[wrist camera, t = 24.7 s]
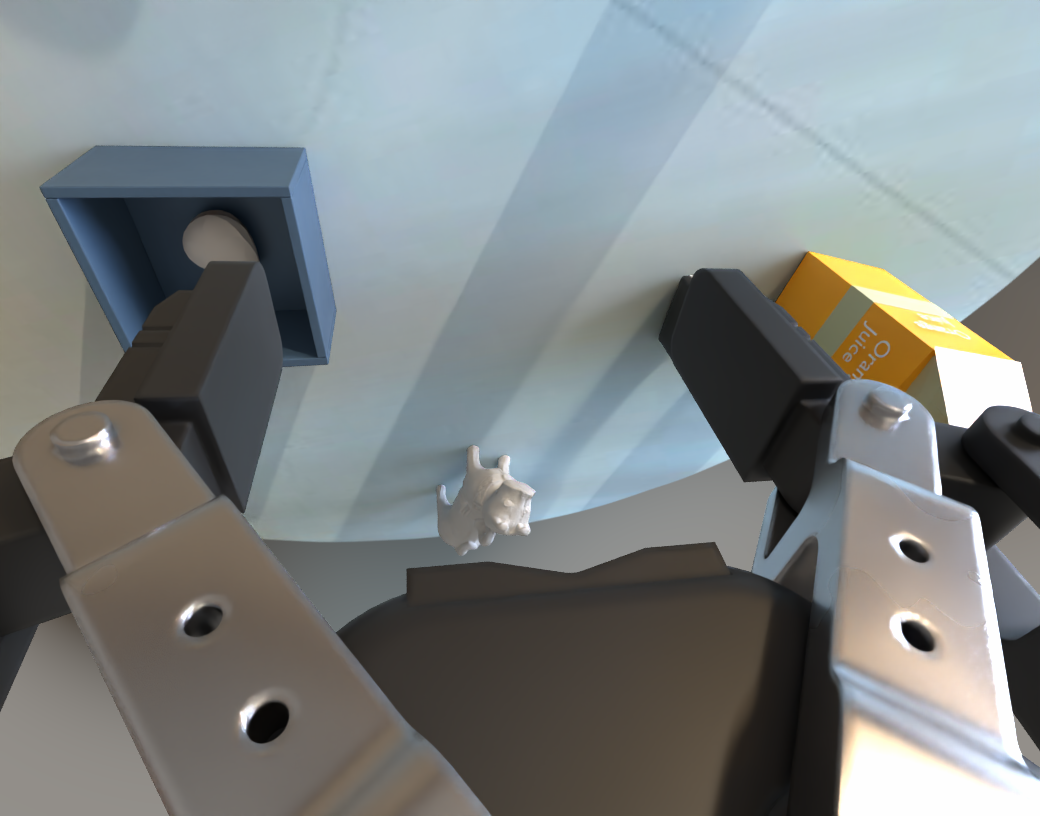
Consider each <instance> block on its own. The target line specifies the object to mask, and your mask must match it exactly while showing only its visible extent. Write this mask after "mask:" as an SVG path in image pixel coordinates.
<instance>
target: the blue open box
mask: <svg viewBox="0 0 1040 816" xmlns="http://www.w3.org/2000/svg"><path fill="white" fill-rule="evenodd" d="M39 188H40V190H41V192H42V194H43V196H44V197H45V198H46V201H47V203H48V205H49V207H50V209H51V211H52V213H53V215H54V217H55V219H56V221H57V223H58V225H59V227H60V228H61V230H62V232H63V234H64V236H65V238H66V240H67V242H68V244H69V246H70V248H71V250H72V252H73V254H74V255H75V257H76V259H77V261H78V263H79V265H80V267H81V269H82V271H83V273H84V275H85V277H86V279H87V281H88V282H89V284H90V286H91V288H92V290H93V292H94V294H95V296H96V298H97V300H98V302H99V304H100V306H101V308H102V309H103V311H104V313H105V315H106V317H107V319H108V321H109V323H110V325H111V327H112V329H113V331H114V333H115V335H116V336H117V338H118V340H119V342H120V344H121V346H122V348H123V350H124V352H126V351H127V349H128V348H129V347H132V341H133V340H134V338H135V337H136V335H137V333H138V332H139V331H142V326H143V324H144V322H145V321H146V319H147V318H148V316H149V314H150V313H151V311H152V310H153V308H154V307H155V306H156V305H158V304H159V303H161V302H162V301H164V300H165V299H167V298H168V297H169V296H171V295H172V294H174V293H175V292H177V291H178V290H193V289H194V288H195V286H196V284H197V282H198V280H199V279H200V277H201V275H202V273H203V271H204V270H205V269H204V268H202V267H199V266H198V265H197V264H195V263H194V262H193V261H191V260H190V259H189V257H188V256H187V254H186V252H185V251H184V248H183V242H182V240H183V234H184V231H185V230H186V228H187V226H188V225H189V224H190V222H191V221H192V219H193V218H194V217H196V216H197V215H199V214H200V213H202V212H206V211H209V210H222V211H225V212H228V213H231V214H232V215H234V216H235V217H236V218H238V219H239V220H240V221H241V222H242V223H243V225H244V226H245V227H246V228H247V230H248V232H249V234H250V235H251V237H252V239H253V241H254V244H255V246H256V249H257V252H258V256H259V260H260V263H261V265H262V266H263V269H264V271H265V274H266V278H267V282H268V286H269V290H270V295H271V299H272V303H273V307H274V311H275V316H276V320H277V324H278V328H279V332H280V336H281V342H282V350H283V366H282V367H292V366H311V365H328V363H329V356H330V350H331V343H332V337H333V330H334V324H335V317H336V306H335V301H334V296H333V291H332V286H331V280H330V275H329V270H328V265H327V259H326V254H325V249H324V244H323V239H322V233H321V228H320V223H319V218H318V212H317V207H316V202H315V197H314V192H313V186H312V181H311V176H310V171H309V165H308V160H307V155H306V150H305V148H279V147H177V146H95V147H93V148H92V149H90V150H89V151H88V152H86V153H85V154H84V155H82V156H81V157H79V158H78V159H77V160H75V161H74V162H73V163H71V164H70V165H69V166H67V167H66V168H64V169H63V170H62V171H60V172H59V173H58V174H56V175H55V176H53V177H52V178H51V179H49V180H48V181H47V182H45V183H44V184H42V185H41V186H40V187H39Z"/></svg>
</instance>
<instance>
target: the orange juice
mask: <svg viewBox="0 0 1040 816" xmlns="http://www.w3.org/2000/svg"><path fill="white" fill-rule="evenodd" d="M775 303H776V304H778V305H780V306H781V307H783V308H784V309H785V310H786V311H787V312H788V313H789V314H790V315H791V316H792V317H793V318H794V320H795V321H796V322H797V323H798V327H802V328H803V329H804V330H805V331H806V332H807V333H808V334H809V335H810V336H811V337H810V340H815V341H816V342H817V343H818V345H819V346H820V347H821V348H822V349H823V350H824V351H825V352H826V353H827V354H828V355H829V356H830V357H831V358H832V359H833V360H834V361H835V362H836V363H837V364H838V365H839V366H840V367H841V369H842V370H843V371H844V372H845V373H846V374H847V375H848V376H849V377H850V378H851V379H869V380H874V381H878V382H882V383H885V384H888V385H890V386H893V387H895V388H897V389H899V390H901V391H903V392H905V393H907V394H909V395H910V396H911V397H913V398H914V399H916V400H917V401H918V402H920V403H921V404H922V405H923V406H924V407H925V408H926V409H927V410H928V412H929V413H930V414H931V416H932V418H933V420H934V422H939V423H944V424H950V425H955V426H960V427H965V428H969V427H970V426H971V425H972V424H973V422H974V421H975V420H976V419H977V418H978V417H979V416H980V415H981V414H982V412H983V411H984V410H985V409H986V408H988V407H990V406H994V405H1007V406H1013V407H1018V408H1022V409H1025V410H1028V411H1031V412H1032V408H1031V404H1030V400H1029V396H1028V391H1027V387H1026V383H1025V379H1024V375H1023V371H1022V366H1021V363H1020V362H1015V361H1014V360H1012V359H1011V358H1009V357H1008V356H1006V355H1005V354H1004V353H1002V352H1001V351H999V350H998V349H997V348H995V347H994V346H992V345H991V344H989V343H988V342H987V341H985V340H984V339H982V338H981V337H979V336H978V335H977V334H975V333H974V332H972V331H971V330H969V329H968V328H967V327H965V326H964V325H962V324H961V323H959V322H958V321H957V320H956V319H955V318H953V317H952V316H951V315H949V314H948V313H946V312H945V311H943V310H942V309H941V308H939V307H938V306H936V305H935V304H933V303H931V302H929V301H928V300H927V299H925V298H924V297H922V296H921V295H919V294H918V293H917V292H915V291H914V290H912V289H911V288H909V287H908V286H907V285H905V284H904V283H902V282H901V281H899V280H898V279H897V278H895V277H894V276H892V275H891V274H889V273H888V272H887V271H885V270H884V269H880V268H876V267H872V266H868V265H863V264H859V263H855V262H851V261H847V260H843V259H839V258H834V257H830V256H826V255H822V254H818V253H814V252H810V251H808V252H807V254H806V255H805V257H804V259H803V260H802V262H801V263H800V265H799V266H798V268H797V269H796V271H795V273H794V274H793V276H792V277H791V279H790V280H789V282H788V283H787V285H786V286H785V288H784V290H783V291H782V293H781V294H780V296H779V297H778V299H777V300H776V302H775Z"/></svg>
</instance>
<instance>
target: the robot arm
mask: <svg viewBox="0 0 1040 816" xmlns="http://www.w3.org/2000/svg"><path fill="white" fill-rule="evenodd" d="M810 337H811V336H810V335H809V334H808V333H807V332H806V331H805V330H804V329H803V328H802V327H798V323H797V322H796V321H795V320H794V318H793V317H792V316H791V315H790V314H789V313H788V312H787V311H786V310H785V309H784V308H783V307H781V306H780V305H778V304H776V303H775V302H773V301H771V300H770V299H768V298H767V297H765V296H764V295H763V294H762V293H761V292H760V290H759V289H758V288H757V287H756V286H755V285H754V284H753V283H752V282H751V281H750V280H749V279H748V278H747V277H746V276H745V275H744V273H743V272H742V271H740V270H738V269H707V268H702V269H699V270H697V271H696V272H695V274H694V275H693V277H692V279H691V281H690V284H689V287H688V290H687V293H686V296H685V299H684V302H683V305H682V308H681V311H680V313H679V316H678V319H677V322H676V325H675V328H674V331H673V334H672V338H671V357H672V361H673V364H674V366H675V367H676V369H677V371H678V372H679V374H680V376H681V377H682V379H683V381H684V383H685V384H686V386H687V388H688V389H689V391H690V393H691V394H692V396H693V398H694V399H695V401H696V403H697V404H698V406H699V408H700V409H701V411H702V413H703V414H704V416H705V418H706V419H707V421H708V423H709V424H710V426H711V428H712V429H713V431H714V433H715V434H716V436H717V438H718V439H719V441H720V443H721V444H722V446H723V448H724V449H725V451H726V453H727V455H728V456H729V458H730V460H731V461H732V463H733V464H734V466H735V468H736V470H737V471H738V473H739V474H740V476H741V478H742V480H743V481H744V482H754V481H755V482H756V481H770V480H773V482H774V483H775V485H776V487H775V488H774V490H773V491H772V493H771V495H770V496H769V498H768V501H767V506H766V510H765V515H764V519H763V524H762V527H761V532H760V536H759V541H758V545H757V549H756V554H755V558H754V562H753V567H752V571H751V572H749V571H745V570H741V569H738V568H734V567H730V566H726V564H725V562H724V560H723V557H722V555H721V553H720V551H719V549H718V548H717V545H716V544H715V542H710V543H698V544H686V545H675V546H664V547H651V548H644V549H641V550H638V551H636V552H633V553H630V554H627V555H625V556H622V557H619V558H617V559H614V560H611V561H608V562H606V563H603V564H600V565H597V566H594V567H592V568H589V569H586V570H584V571H580V572H577V573H564V572H557V571H550V570H542V569H536V568H529V567H522V566H515V565H508V564H501V563H495V562H479V563H467V564H455V565H444V566H432V567H421V568H409V569H407V593H406V594H403V595H401V596H398V597H395V598H392V599H390V600H388V601H386V602H383V603H381V604H379V605H377V606H375V607H373V608H371V609H369V610H368V611H366V612H364V613H363V614H361V615H360V616H358V617H356V618H355V619H353V620H352V621H350V622H349V623H348V624H346V625H345V626H344V627H342V628H341V629H340V630H339V631H337V632H335V631H334V630H333V629H332V627H331V626H330V625H329V624H328V622H327V621H326V620H325V618H324V617H323V616H322V615H321V613H320V612H319V611H318V610H317V608H316V607H315V606H314V605H313V603H312V602H311V601H310V600H309V598H308V597H307V596H306V595H305V593H304V592H303V591H302V589H301V588H300V587H299V586H298V584H297V583H296V582H295V581H294V579H293V578H292V577H291V576H290V574H289V573H288V572H287V570H286V569H285V568H284V567H283V565H282V564H281V563H280V562H279V560H278V559H277V558H276V557H275V555H274V554H273V553H272V552H271V550H270V549H269V548H268V547H267V545H266V544H265V543H264V541H263V540H262V539H261V538H260V536H259V535H258V534H257V533H256V531H255V530H254V529H253V528H252V526H251V525H250V524H249V522H248V521H247V520H246V519H245V517H244V516H243V515H242V514H241V513H245V509H246V505H247V501H248V497H249V494H250V490H251V486H252V482H253V479H254V475H255V471H256V467H257V463H258V460H259V456H260V452H261V448H262V445H263V441H264V437H265V433H266V429H267V426H268V422H269V418H270V414H271V411H272V407H273V403H274V399H275V395H276V392H277V388H278V384H279V380H280V376H281V372H282V366H283V350H282V342H281V336H280V332H279V328H278V324H277V320H276V316H275V311H274V307H273V303H272V299H271V295H270V290H269V286H268V282H267V278H266V274H265V271H264V269H263V266H262V265H261V263H260V262H258V261H210V262H209V263H208V264H207V266H206V268H205V270H204V271H203V273H202V275H201V277H200V279H199V280H198V282H197V284H196V286H195V288H194V289H193V290H178V291H177V292H175V293H174V294H172V295H171V296H169V297H168V298H167V299H165V300H164V301H162V302H161V303H159V304H158V305H156V306H155V307H154V308H153V310H152V311H151V313H150V314H149V316H148V318H147V319H146V321H145V322H144V324H143V326H142V331H139V332H138V333H137V335H136V337H135V338H134V340H133V341H132V347H129V348H128V349H127V351H126V352H125V354H124V356H123V357H122V359H121V360H120V362H119V364H118V365H117V367H116V368H115V370H114V372H113V373H112V375H111V376H110V378H109V379H108V381H107V383H106V384H105V386H104V387H103V389H102V391H101V392H100V394H99V395H98V397H97V398H96V400H95V402H89V403H85V404H81V405H77V406H74V407H71V408H68V409H65V410H63V411H61V412H58V413H56V414H54V415H52V416H50V417H48V418H46V419H45V420H43V421H42V422H40V423H38V424H37V425H36V426H34V427H33V428H32V429H31V430H29V431H28V432H27V433H26V434H25V435H24V436H23V437H22V438H21V440H20V441H19V443H18V444H17V446H16V447H15V450H14V453H13V456H12V457H8V458H4V459H0V711H1V709H2V706H3V704H4V702H5V700H6V698H7V695H8V693H9V691H10V688H11V686H12V684H13V682H14V679H15V677H16V675H17V673H18V670H19V668H20V666H21V663H22V661H23V659H24V657H25V654H26V652H27V650H28V648H29V646H30V643H31V641H32V639H33V636H34V634H35V632H36V630H37V627H38V625H39V624H40V623H43V622H46V621H49V620H52V619H55V618H58V617H61V616H63V615H67V614H69V613H72V614H73V616H74V618H75V620H76V622H77V624H78V626H79V628H80V630H81V633H82V635H83V637H84V639H85V641H86V643H87V645H88V647H89V649H90V651H91V653H92V656H93V658H94V660H95V661H96V664H97V666H98V668H99V670H100V672H101V674H102V676H103V679H104V681H105V683H106V685H107V687H108V689H109V691H110V693H111V695H112V697H113V699H114V702H115V703H116V706H117V708H118V710H119V712H120V714H121V716H122V718H123V720H124V722H125V725H126V727H127V729H128V731H129V733H130V735H131V737H132V739H133V741H134V743H135V745H136V747H137V750H138V752H139V754H140V756H141V758H142V760H143V762H144V764H145V766H146V768H147V770H148V773H149V775H150V777H151V779H152V781H153V783H154V785H155V787H156V789H157V791H158V793H159V796H160V797H161V800H162V802H163V804H164V806H165V808H166V810H167V812H168V814H169V816H1040V767H1038V766H1037V765H1035V764H1034V763H1033V762H1031V761H1030V760H1028V759H1027V758H1026V757H1024V756H1023V755H1022V754H1020V751H1019V749H1018V744H1017V738H1016V732H1015V726H1014V721H1013V715H1012V712H1013V713H1014V715H1015V716H1016V718H1017V719H1018V720H1019V722H1020V723H1021V724H1022V726H1023V727H1024V729H1025V730H1026V732H1027V733H1028V735H1029V736H1030V737H1031V739H1032V740H1033V741H1034V743H1035V744H1036V746H1037V747H1038V749H1039V750H1040V596H1039V594H1038V593H1037V592H1036V591H1035V590H1034V589H1033V587H1032V586H1031V585H1030V584H1029V583H1028V582H1027V581H1026V580H1025V578H1024V577H1023V576H1022V575H1021V574H1020V573H1019V571H1018V570H1017V569H1016V568H1015V567H1014V566H1013V565H1012V563H1011V562H1010V561H1009V560H1008V559H1007V558H1006V557H1005V555H1004V554H1003V553H1002V552H1001V551H1000V550H999V548H998V547H997V546H996V545H995V544H996V543H998V542H999V541H1000V540H1001V539H1002V538H1004V537H1005V536H1006V535H1007V534H1008V533H1009V532H1011V531H1012V530H1013V529H1014V528H1015V527H1016V526H1018V525H1019V524H1020V523H1021V522H1022V521H1024V520H1025V519H1026V518H1027V517H1029V518H1030V519H1031V520H1032V521H1033V522H1034V523H1035V525H1036V526H1037V527H1038V528H1039V529H1040V415H1038V414H1036V413H1034V412H1031V411H1028V410H1025V409H1022V408H1018V407H1013V406H1007V405H994V406H990V407H988V408H986V409H985V410H984V411H983V412H982V414H981V415H980V416H979V417H978V418H977V419H976V420H975V421H974V422H973V424H972V425H971V426H970V427H969V428H965V427H960V426H955V425H950V424H944V423H939V422H934V420H933V418H932V416H931V414H930V413H929V412H928V410H927V409H926V408H925V407H924V406H923V405H922V404H921V403H920V402H918V401H917V400H916V399H914V398H913V397H911V396H910V395H909V394H907V393H905V392H903V391H901V390H899V389H897V388H895V387H893V386H890V385H888V384H885V383H882V382H878V381H874V380H869V379H851V378H850V377H849V376H848V375H847V374H846V373H845V372H844V371H843V370H842V369H841V367H840V366H839V365H838V364H837V363H836V362H835V361H834V360H833V359H832V358H831V357H830V356H829V355H828V354H827V353H826V352H825V351H824V350H823V349H822V348H821V347H820V346H819V345H818V343H817V342H816V341H815V340H810Z"/></svg>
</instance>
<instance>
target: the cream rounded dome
mask: <svg viewBox="0 0 1040 816" xmlns="http://www.w3.org/2000/svg"><path fill="white" fill-rule="evenodd" d="M182 242H183V248H184V251H185V252H186V254H187V256H188V257H189V259H190V260H191V261H193V262H194V263H195V264H197V265H198V266H199V267H202V268H204V269H205V268H206V266H207V264H208V263H209V262H210V261H258V262H260V260H259V256H258V252H257V249H256V246H255V244H254V241H253V239H252V237H251V235H250V234H249V232H248V230H247V228H246V227H245V226H244V225H243V223H242V222H241V221H240V220H239V219H238V218H236V217H235V216H234V215H232V214H231V213H228V212H225V211H222V210H209V211H206V212H202V213H200V214H199V215H197V216H196V217H194V218H193V219H192V221H191V222H190V224H189V225H188V226H187V228H186V230H185V231H184V234H183V240H182Z"/></svg>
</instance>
